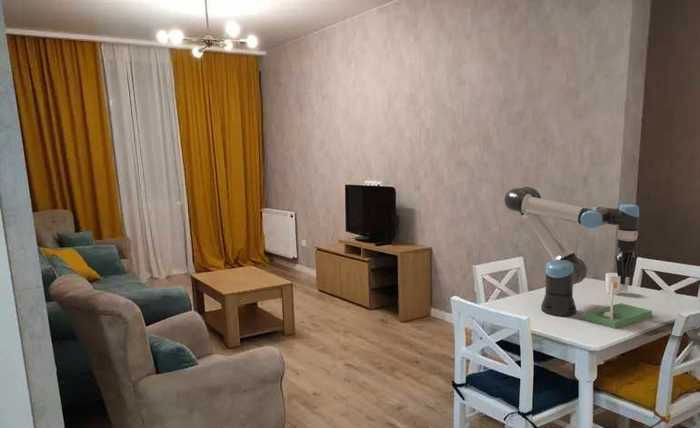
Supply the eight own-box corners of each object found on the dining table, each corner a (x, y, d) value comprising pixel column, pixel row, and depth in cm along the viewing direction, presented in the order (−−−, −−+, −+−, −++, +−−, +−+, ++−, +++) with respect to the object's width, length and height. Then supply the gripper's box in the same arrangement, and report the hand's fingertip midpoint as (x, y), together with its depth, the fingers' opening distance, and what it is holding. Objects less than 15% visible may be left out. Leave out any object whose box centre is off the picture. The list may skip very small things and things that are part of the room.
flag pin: (611, 320, 199) (613, 284, 198) (609, 320, 200) (610, 283, 198) (616, 319, 201) (618, 282, 199) (614, 318, 202) (615, 282, 200)
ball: (610, 322, 208) (604, 323, 206) (604, 313, 210) (599, 315, 208) (617, 317, 205) (611, 319, 203) (611, 309, 207) (606, 310, 205)
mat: (614, 328, 197) (614, 322, 197) (583, 319, 210) (584, 313, 209) (651, 316, 211) (651, 310, 211) (620, 308, 223) (620, 302, 223)
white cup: (622, 292, 249) (623, 273, 248) (621, 295, 243) (622, 276, 242) (605, 290, 253) (606, 272, 252) (604, 293, 247) (604, 275, 246)
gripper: (627, 242, 202) (623, 295, 206) (644, 239, 209) (640, 290, 212) (610, 239, 209) (606, 291, 212) (627, 236, 215) (623, 286, 218)
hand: (623, 290), depth 212 cm, fingers closed
